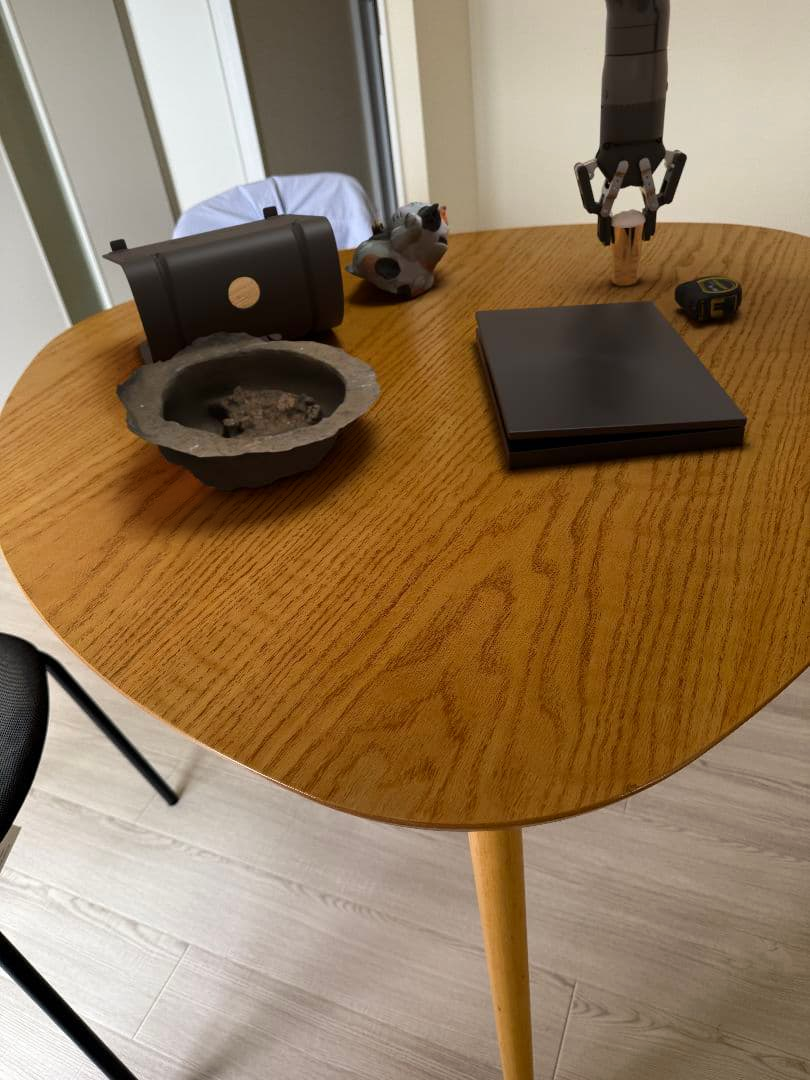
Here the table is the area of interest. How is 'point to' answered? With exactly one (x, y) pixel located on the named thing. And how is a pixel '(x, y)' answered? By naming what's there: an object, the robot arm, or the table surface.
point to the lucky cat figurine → (404, 250)
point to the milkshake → (626, 246)
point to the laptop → (601, 439)
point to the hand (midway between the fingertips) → (625, 241)
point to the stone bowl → (247, 406)
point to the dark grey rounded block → (215, 262)
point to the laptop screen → (598, 372)
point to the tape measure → (709, 297)
